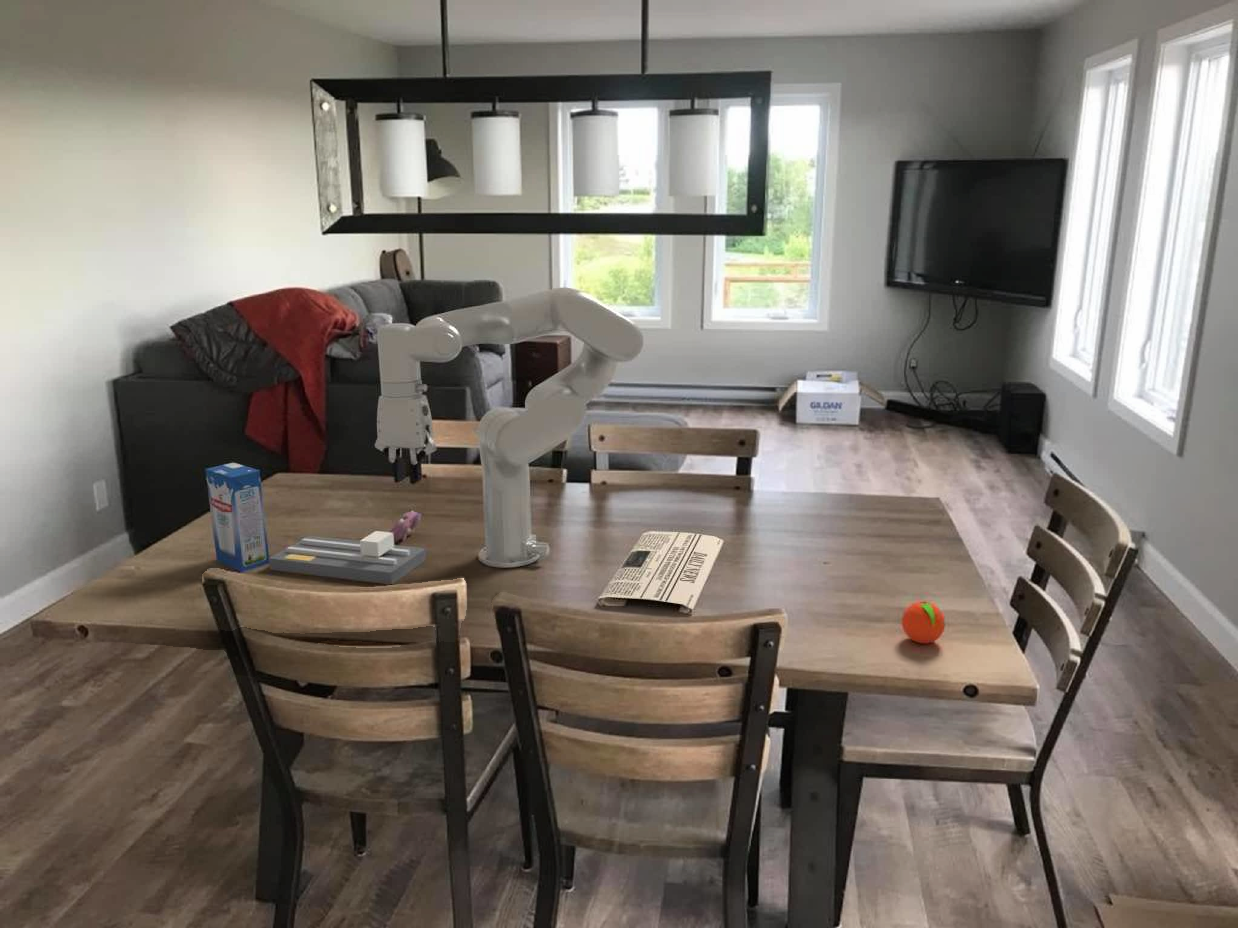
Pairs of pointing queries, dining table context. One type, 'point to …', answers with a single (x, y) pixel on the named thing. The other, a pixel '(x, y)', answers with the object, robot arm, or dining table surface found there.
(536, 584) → the dining table surface
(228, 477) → the milk carton
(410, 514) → the video game controller
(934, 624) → the clementine
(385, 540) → the fader knob
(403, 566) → the fader console
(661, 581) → the newspaper
